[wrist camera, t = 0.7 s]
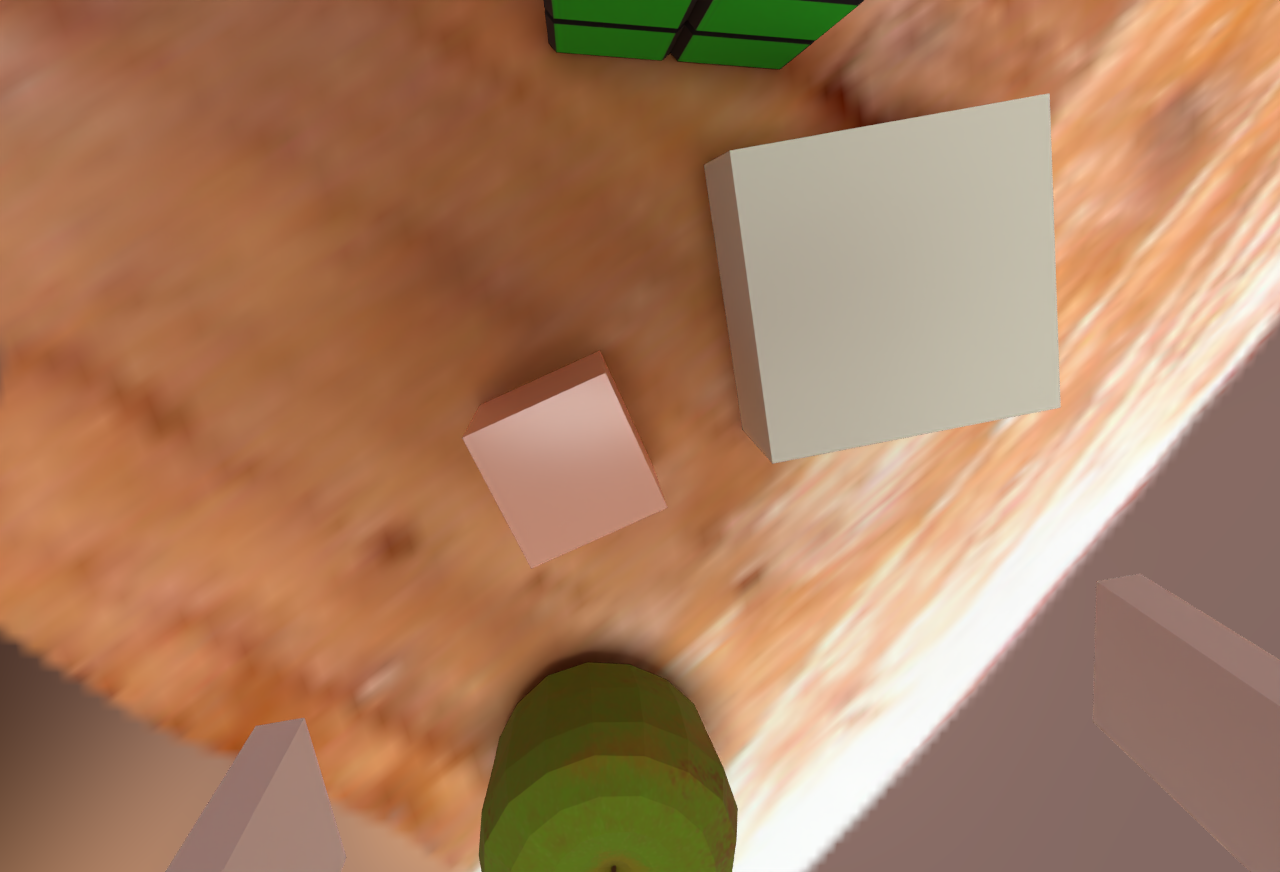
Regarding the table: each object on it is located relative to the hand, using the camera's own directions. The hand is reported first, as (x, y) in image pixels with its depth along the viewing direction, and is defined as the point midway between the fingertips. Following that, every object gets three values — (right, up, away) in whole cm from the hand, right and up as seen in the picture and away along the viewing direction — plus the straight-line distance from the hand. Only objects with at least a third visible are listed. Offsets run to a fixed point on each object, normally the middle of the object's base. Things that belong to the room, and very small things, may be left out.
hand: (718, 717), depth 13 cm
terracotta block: (-5, +5, +23) cm, 24 cm away
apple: (-3, -11, +28) cm, 30 cm away
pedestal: (+8, +12, +23) cm, 27 cm away
